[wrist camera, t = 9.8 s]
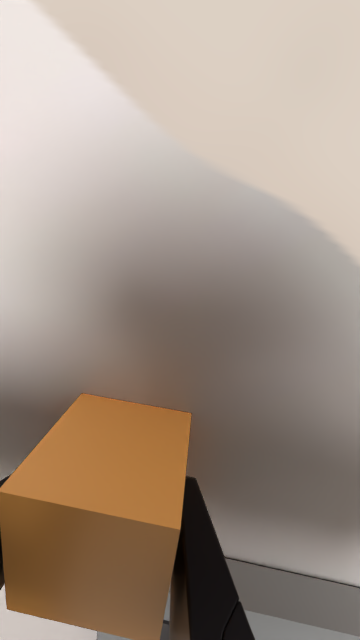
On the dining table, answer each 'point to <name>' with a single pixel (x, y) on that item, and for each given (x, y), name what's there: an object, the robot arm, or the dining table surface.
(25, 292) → the dining table surface
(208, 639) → the robot arm
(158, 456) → the orange cube
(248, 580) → the panel
